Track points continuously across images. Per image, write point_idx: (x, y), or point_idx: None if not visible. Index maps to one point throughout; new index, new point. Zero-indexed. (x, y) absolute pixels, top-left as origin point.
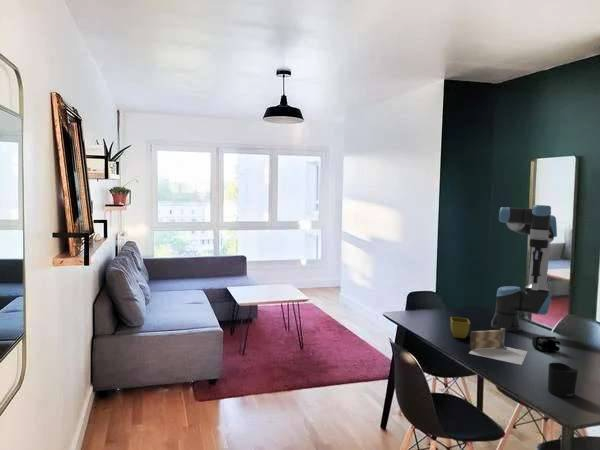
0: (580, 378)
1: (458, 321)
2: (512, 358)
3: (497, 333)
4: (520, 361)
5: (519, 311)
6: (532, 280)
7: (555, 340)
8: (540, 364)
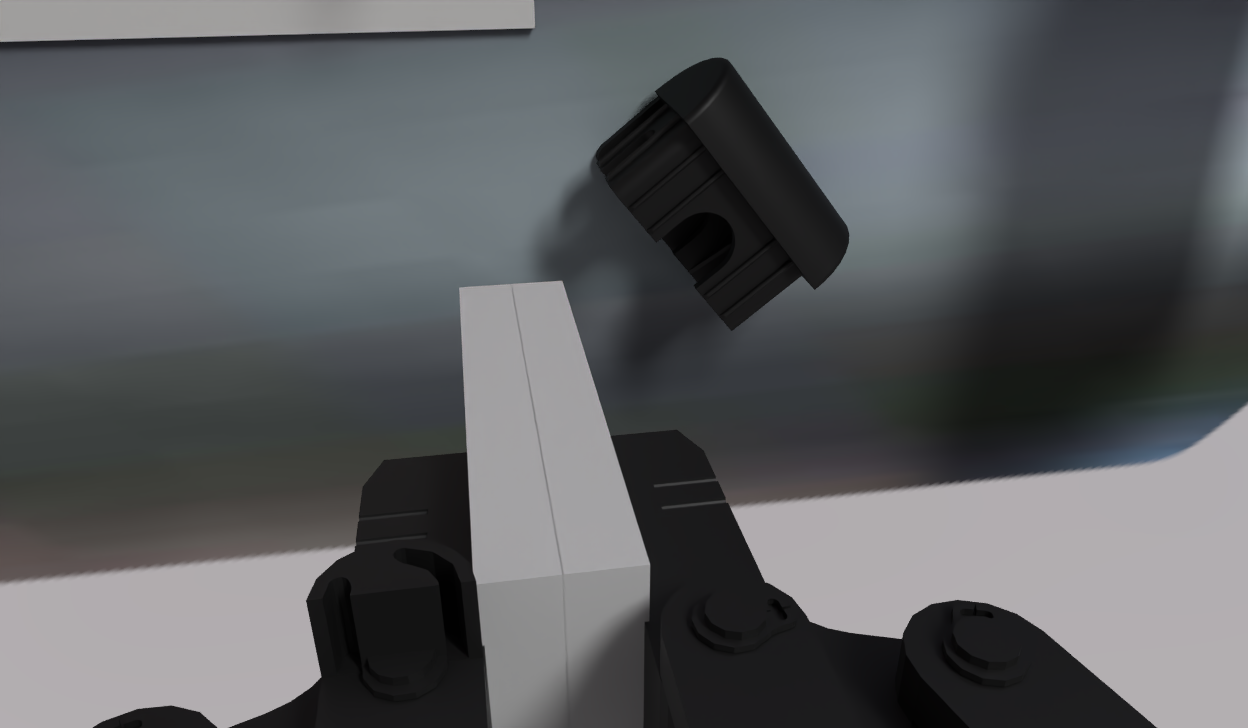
0: (126, 492)
1: None
2: None
3: None
4: (90, 15)
5: None
6: (470, 459)
7: (727, 294)
8: (216, 194)
